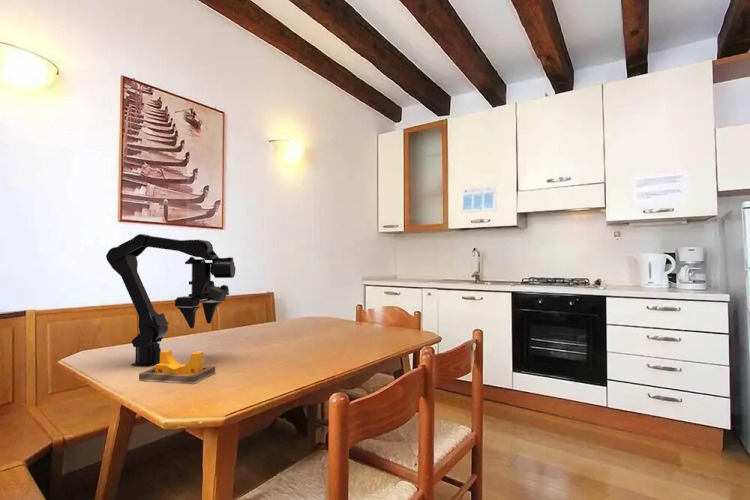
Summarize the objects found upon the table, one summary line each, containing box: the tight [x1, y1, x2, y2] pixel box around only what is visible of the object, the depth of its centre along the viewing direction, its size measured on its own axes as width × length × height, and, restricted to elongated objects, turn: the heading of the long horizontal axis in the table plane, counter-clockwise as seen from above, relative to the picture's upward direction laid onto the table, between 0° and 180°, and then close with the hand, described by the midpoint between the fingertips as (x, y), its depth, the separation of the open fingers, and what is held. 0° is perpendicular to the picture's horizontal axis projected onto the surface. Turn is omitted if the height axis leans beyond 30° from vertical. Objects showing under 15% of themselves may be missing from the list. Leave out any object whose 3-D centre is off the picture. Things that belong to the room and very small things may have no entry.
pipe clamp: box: [154, 349, 204, 375], centre depth 112 cm, size 12×4×6 cm, turn 81°
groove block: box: [138, 365, 216, 385], centre depth 112 cm, size 17×10×2 cm, turn 81°
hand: (200, 325), depth 128 cm, fingers open, 9 cm apart
